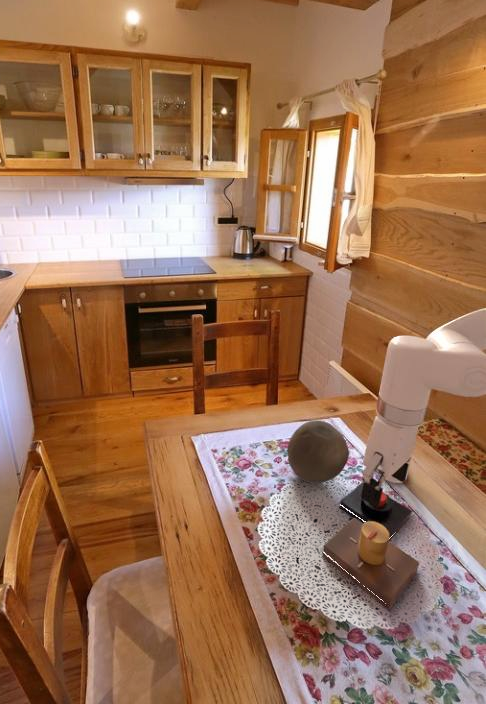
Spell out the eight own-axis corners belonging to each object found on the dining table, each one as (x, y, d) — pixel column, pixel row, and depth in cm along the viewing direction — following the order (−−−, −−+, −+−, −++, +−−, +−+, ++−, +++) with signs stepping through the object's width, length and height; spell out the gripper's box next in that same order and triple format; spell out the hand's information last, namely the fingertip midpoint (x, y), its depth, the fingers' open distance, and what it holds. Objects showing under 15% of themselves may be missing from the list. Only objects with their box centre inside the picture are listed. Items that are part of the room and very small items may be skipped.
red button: (388, 501, 91) (389, 495, 90) (380, 509, 88) (381, 503, 88) (373, 492, 93) (374, 486, 93) (365, 500, 91) (366, 493, 90)
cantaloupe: (296, 500, 95) (302, 447, 90) (278, 460, 108) (283, 412, 103) (352, 495, 97) (362, 442, 92) (328, 456, 110) (335, 408, 105)
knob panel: (416, 573, 78) (419, 561, 77) (388, 610, 71) (391, 598, 70) (352, 527, 88) (354, 516, 87) (322, 556, 81) (323, 544, 80)
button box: (410, 518, 91) (413, 504, 90) (388, 542, 85) (391, 528, 83) (362, 488, 99) (364, 475, 98) (338, 508, 93) (341, 494, 92)
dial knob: (365, 538, 82) (370, 515, 80) (389, 554, 78) (394, 531, 76) (352, 552, 79) (356, 529, 77) (376, 570, 75) (381, 546, 73)
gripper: (402, 384, 77) (386, 459, 82) (353, 416, 66) (339, 500, 71) (444, 400, 71) (424, 479, 77) (398, 438, 60) (379, 527, 66)
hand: (383, 489), depth 74 cm, fingers open, 9 cm apart
